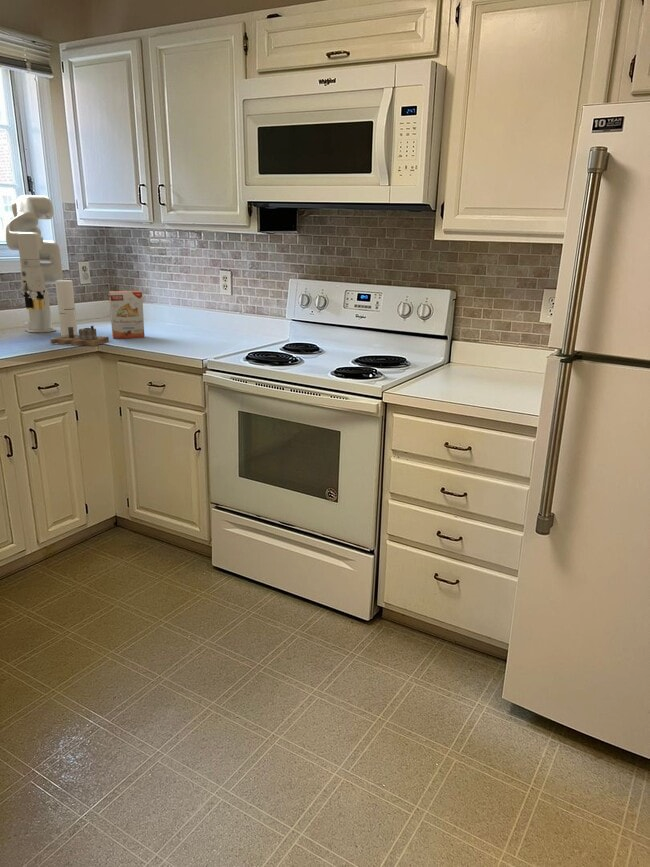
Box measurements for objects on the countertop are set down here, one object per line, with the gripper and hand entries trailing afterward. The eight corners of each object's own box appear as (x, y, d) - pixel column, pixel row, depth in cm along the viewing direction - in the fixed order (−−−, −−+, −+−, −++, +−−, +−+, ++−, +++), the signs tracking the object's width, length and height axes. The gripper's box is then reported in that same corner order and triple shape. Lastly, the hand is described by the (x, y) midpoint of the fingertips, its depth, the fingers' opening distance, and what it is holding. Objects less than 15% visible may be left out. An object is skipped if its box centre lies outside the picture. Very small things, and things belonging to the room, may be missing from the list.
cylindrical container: (77, 337, 295) (71, 281, 288) (60, 337, 293) (54, 281, 285) (78, 334, 302) (72, 280, 294) (61, 335, 299) (55, 280, 292)
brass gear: (22, 309, 272) (21, 299, 271) (33, 307, 279) (32, 298, 277) (37, 310, 271) (36, 300, 269) (48, 308, 277) (47, 298, 276)
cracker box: (113, 339, 292) (109, 292, 285) (112, 337, 297) (108, 290, 291) (145, 337, 297) (142, 291, 291) (143, 335, 302) (140, 290, 296)
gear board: (50, 343, 277) (48, 326, 275) (68, 339, 289) (66, 322, 287) (93, 346, 274) (91, 328, 271) (108, 341, 286) (107, 324, 284)
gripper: (25, 264, 260) (30, 309, 266) (50, 262, 276) (55, 304, 282) (8, 264, 262) (14, 308, 267) (35, 262, 278) (40, 304, 283)
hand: (35, 306), depth 274 cm, fingers closed on brass gear, 7 cm apart
